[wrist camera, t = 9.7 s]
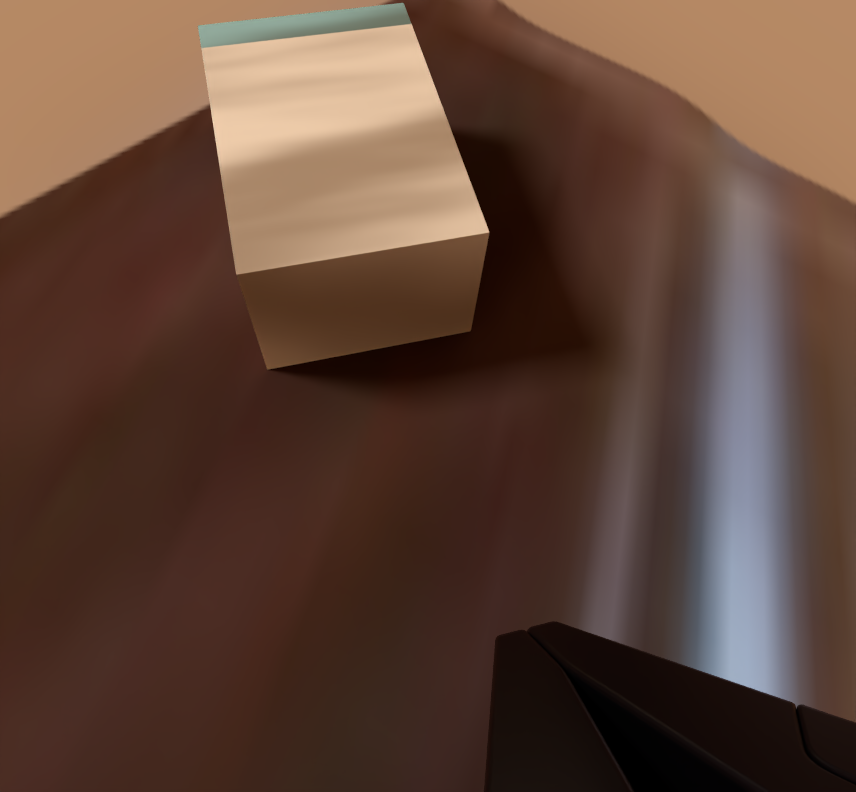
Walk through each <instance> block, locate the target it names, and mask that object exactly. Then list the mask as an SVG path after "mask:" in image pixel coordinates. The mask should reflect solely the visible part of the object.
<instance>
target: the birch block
mask: <svg viewBox="0 0 856 792" xmlns="http://www.w3.org/2000/svg"><path fill="white" fill-rule="evenodd" d="M198 29H199V36H200V42H201V49H202V55H203V61H204V68H205V75H206V81H207V87H208V94H209V100H210V107H211V113H212V120H213V126H214V133H215V139H216V146H217V152H218V159H219V165H220V172H221V178H222V184H223V191H224V197H225V204H226V210H227V217H228V223H229V230H230V236H231V243H232V249H233V256H234V262H235V269H236V275H237V278H238V281H239V284H240V287H241V290H242V293H243V296H244V299H245V302H246V305H247V308H248V312H249V315H250V318H251V321H252V324H253V327H254V330H255V333H256V336H257V339H258V342H259V345H260V348H261V351H262V354H263V357H264V360H265V364H266V367H267V370H269V369H274V368H279V367H284V366H290V365H295V364H300V363H306V362H311V361H316V360H321V359H327V358H332V357H337V356H342V355H348V354H353V353H358V352H364V351H369V350H374V349H379V348H385V347H390V346H395V345H401V344H406V343H411V342H416V341H422V340H427V339H432V338H437V337H443V336H448V335H453V334H459V333H464V332H469V331H471V328H472V322H473V317H474V312H475V306H476V301H477V296H478V290H479V285H480V280H481V274H482V269H483V264H484V258H485V253H486V248H487V243H488V237H489V230H488V227H487V225H486V222H485V219H484V217H483V214H482V211H481V209H480V206H479V203H478V201H477V198H476V195H475V193H474V190H473V187H472V185H471V182H470V179H469V177H468V174H467V171H466V169H465V166H464V163H463V161H462V158H461V155H460V153H459V150H458V147H457V145H456V142H455V139H454V137H453V134H452V131H451V129H450V126H449V123H448V121H447V118H446V115H445V113H444V110H443V107H442V105H441V102H440V99H439V97H438V94H437V91H436V89H435V86H434V83H433V80H432V78H431V75H430V72H429V70H428V67H427V64H426V62H425V59H424V56H423V54H422V51H421V48H420V46H419V43H418V40H417V38H416V35H415V32H414V30H413V27H412V24H411V22H410V19H409V16H408V14H407V11H406V8H405V6H404V3H398V4H389V5H380V6H372V7H363V8H353V9H344V10H335V11H326V12H317V13H308V14H299V15H290V16H280V17H272V18H263V19H253V20H245V21H235V22H226V23H217V24H208V25H199V26H198Z"/></svg>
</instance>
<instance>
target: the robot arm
mask: <svg viewBox="0 0 856 792" xmlns="http://www.w3.org/2000/svg"><path fill="white" fill-rule="evenodd" d="M484 792H856V722H852V721H849V720H846V719H843V718H840V717H837V716H834V715H831V714H828V713H825V712H822V711H819V710H817V709H814V708H811V707H808V706H805V705H798V706H797V710H796V706H795V704H794V703H792V702H790V701H787V700H784V699H781V698H778V697H775V696H772V695H769V694H766V693H763V692H760V691H758V690H755V689H752V688H749V687H746V686H743V685H740V684H737V683H734V682H731V681H728V680H725V679H723V678H720V677H717V676H714V675H711V674H708V673H705V672H702V671H699V670H696V669H693V668H690V667H688V666H685V665H682V664H679V663H676V662H673V661H670V660H667V659H664V658H661V657H658V656H655V655H652V654H650V653H647V652H644V651H641V650H638V649H635V648H632V647H629V646H626V645H623V644H620V643H617V642H615V641H612V640H609V639H606V638H603V637H600V636H597V635H594V634H591V633H588V632H585V631H582V630H580V629H577V628H574V627H571V626H568V625H565V624H562V623H559V622H554V621H553V622H548V623H544V624H541V625H537V626H533V627H530V628H529V629H528V630H527V632H526V631H525V630H518V631H514V632H510V633H506V634H502V635H499V636H497V637H496V640H495V652H494V665H493V679H492V692H491V705H490V719H489V732H488V745H487V759H486V772H485V785H484Z"/></svg>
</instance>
